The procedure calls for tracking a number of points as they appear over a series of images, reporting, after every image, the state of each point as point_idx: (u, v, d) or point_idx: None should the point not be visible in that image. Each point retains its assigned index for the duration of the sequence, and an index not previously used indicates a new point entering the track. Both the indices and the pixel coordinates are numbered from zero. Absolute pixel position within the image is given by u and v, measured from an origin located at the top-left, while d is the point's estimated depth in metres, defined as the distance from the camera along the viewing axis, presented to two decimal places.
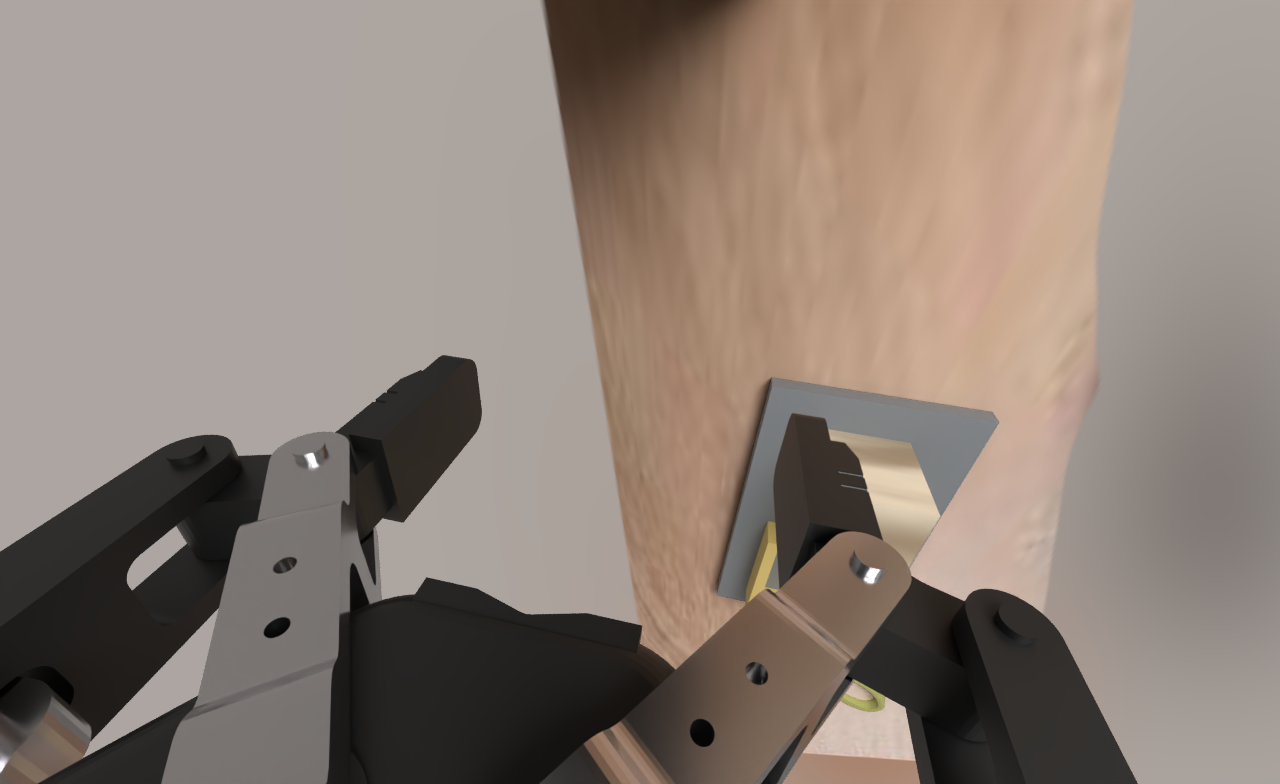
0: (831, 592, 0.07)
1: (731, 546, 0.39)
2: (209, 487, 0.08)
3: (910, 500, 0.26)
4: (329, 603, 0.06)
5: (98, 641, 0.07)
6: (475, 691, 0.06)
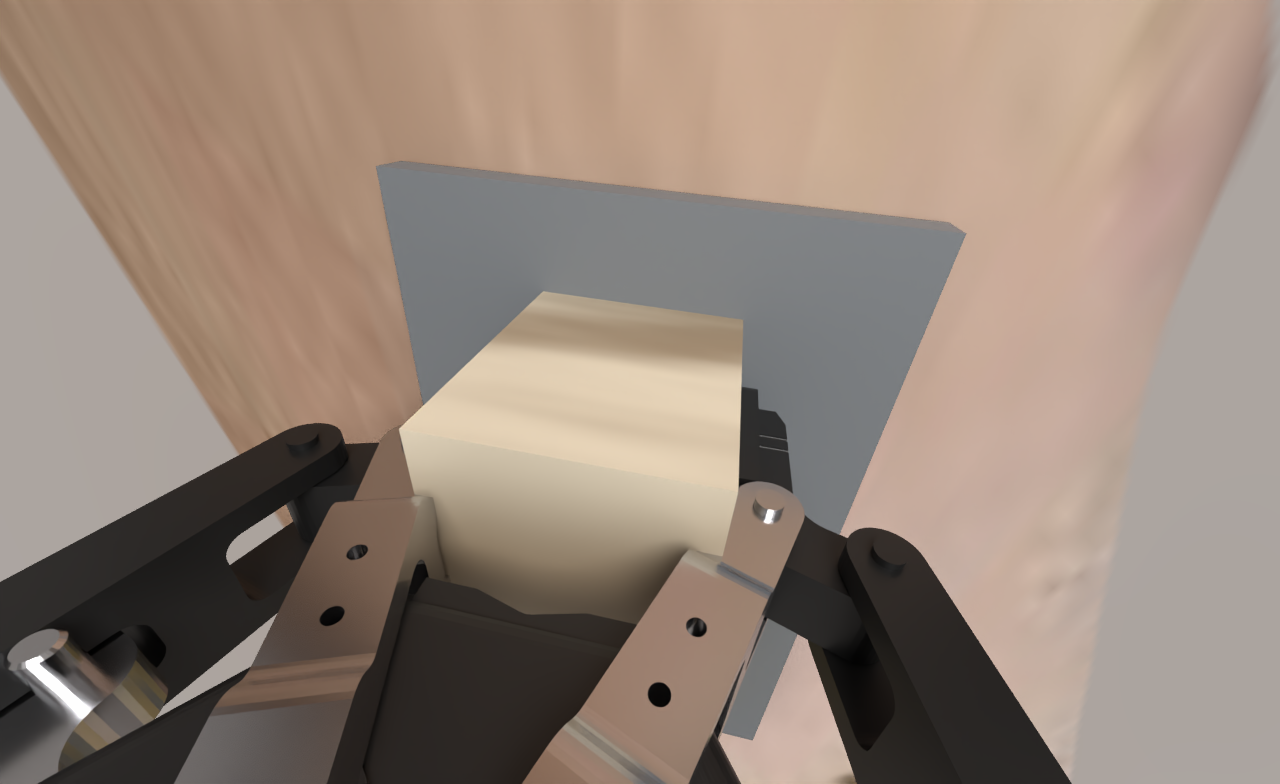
0: None
1: None
2: (325, 472, 0.09)
3: (652, 440, 0.07)
4: (381, 602, 0.06)
5: (193, 608, 0.07)
6: (475, 691, 0.06)
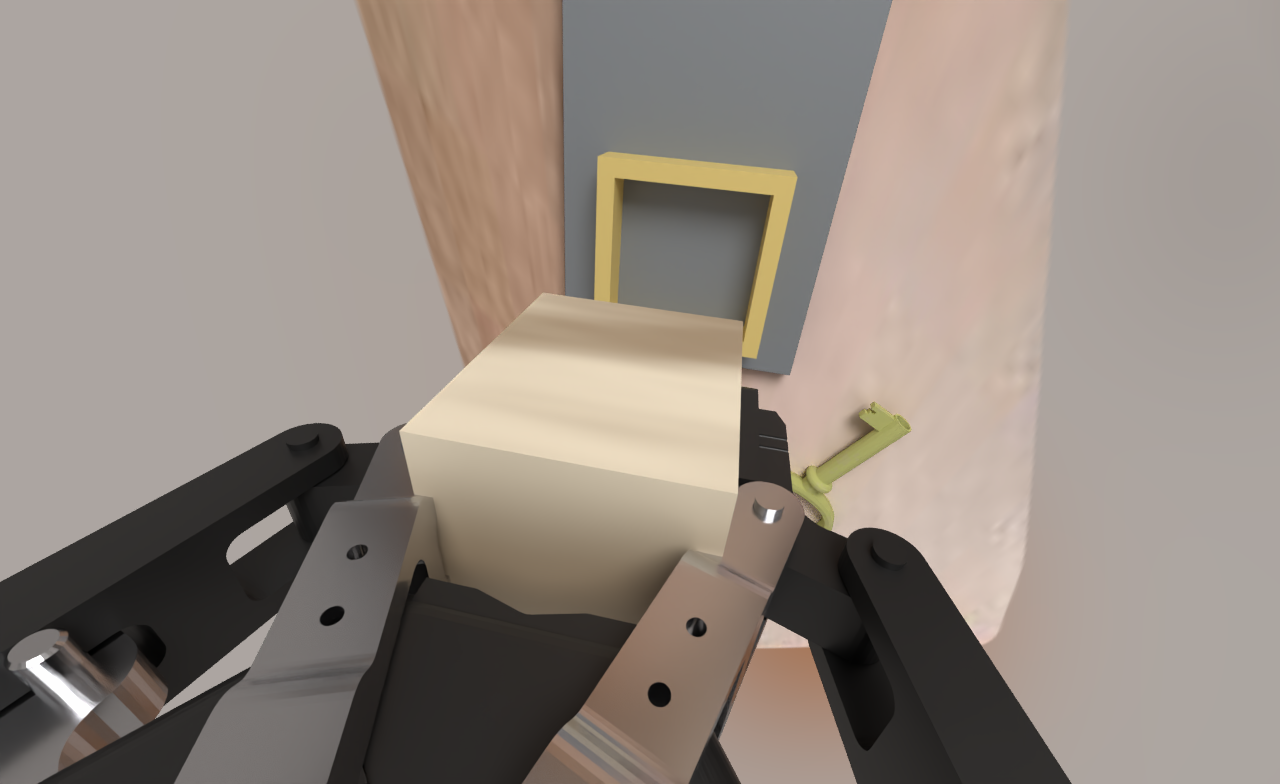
0: None
1: (567, 224, 0.25)
2: (325, 472, 0.09)
3: (651, 443, 0.07)
4: (381, 603, 0.06)
5: (193, 608, 0.07)
6: (475, 691, 0.06)
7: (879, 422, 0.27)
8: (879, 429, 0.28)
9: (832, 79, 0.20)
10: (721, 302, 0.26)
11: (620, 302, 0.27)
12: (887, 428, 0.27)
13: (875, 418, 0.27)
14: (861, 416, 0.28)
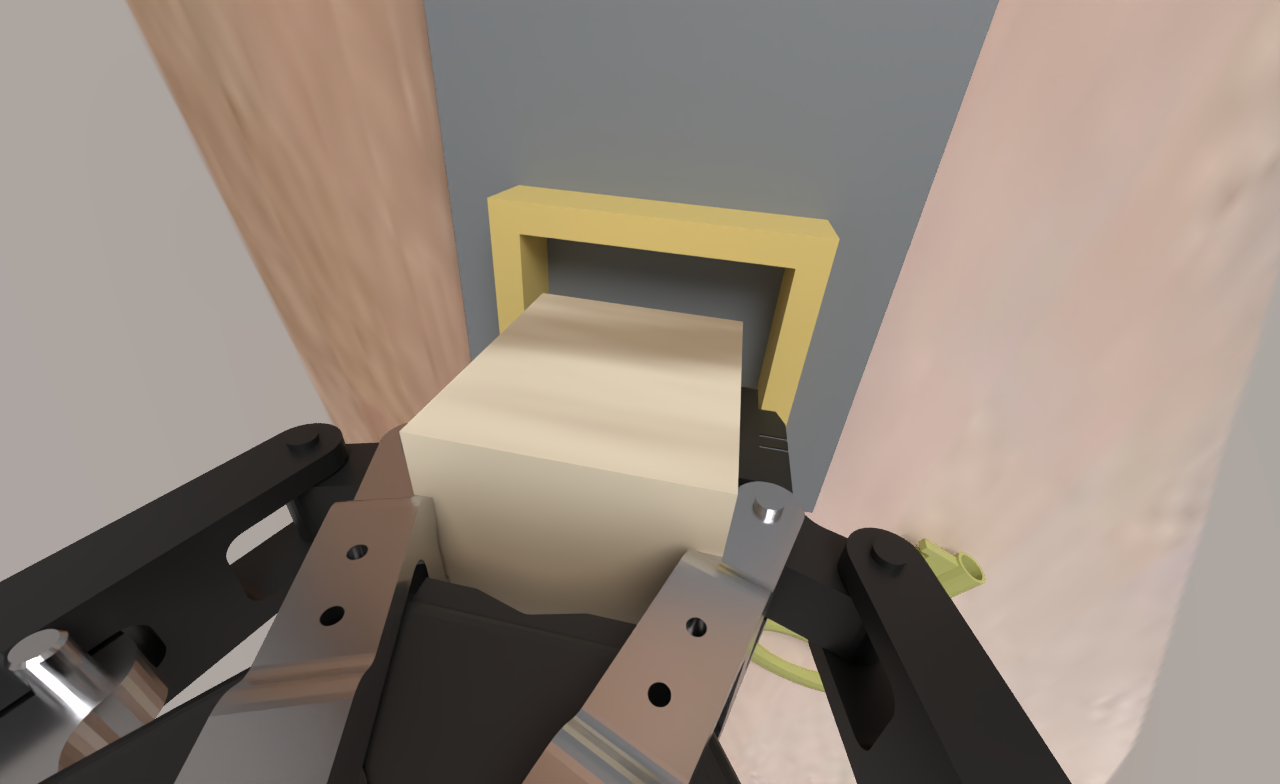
0: None
1: (466, 295, 0.16)
2: (325, 472, 0.09)
3: (651, 443, 0.07)
4: (382, 602, 0.06)
5: (193, 608, 0.07)
6: (475, 691, 0.06)
7: (934, 567, 0.18)
8: None
9: (905, 61, 0.11)
10: None
11: None
12: (947, 577, 0.18)
13: (928, 562, 0.18)
14: None
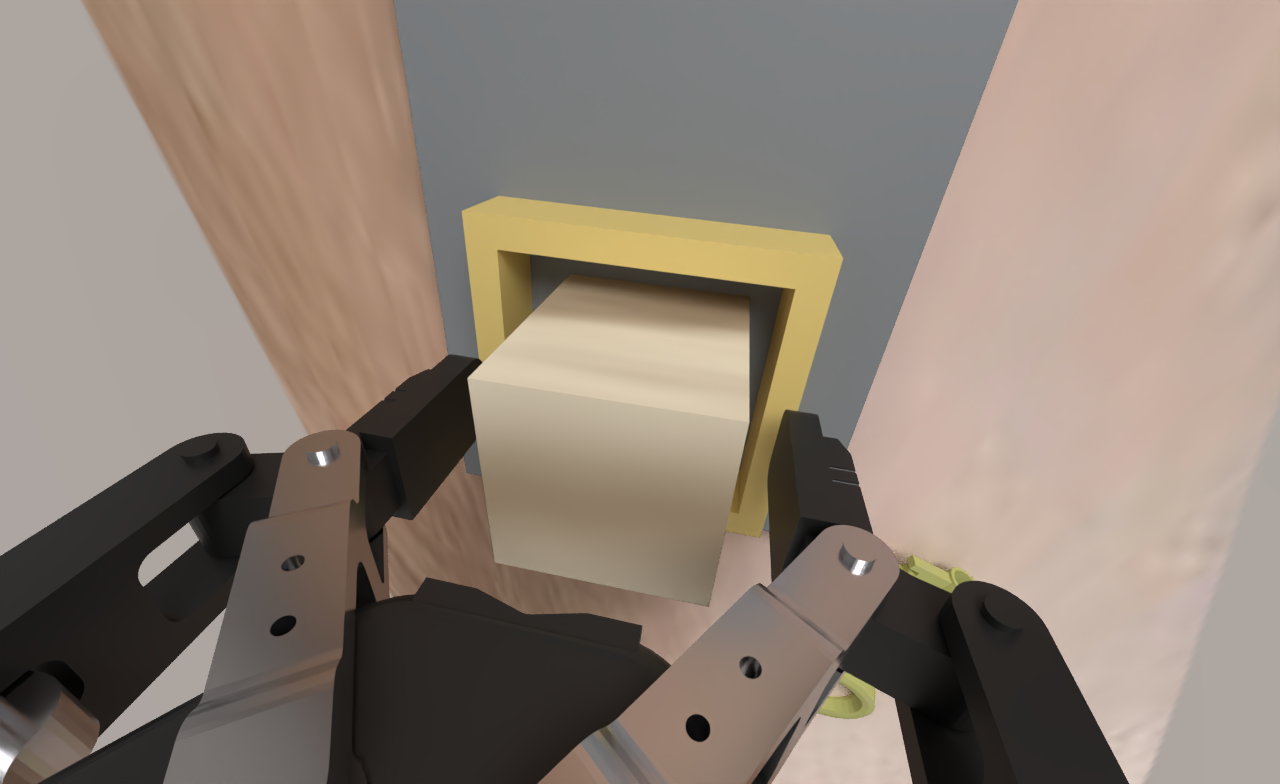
0: (820, 584, 0.07)
1: (446, 310, 0.15)
2: (222, 484, 0.08)
3: (676, 387, 0.09)
4: (335, 602, 0.06)
5: (109, 637, 0.07)
6: (475, 691, 0.06)
7: None
8: None
9: (915, 64, 0.10)
10: None
11: None
12: None
13: None
14: None
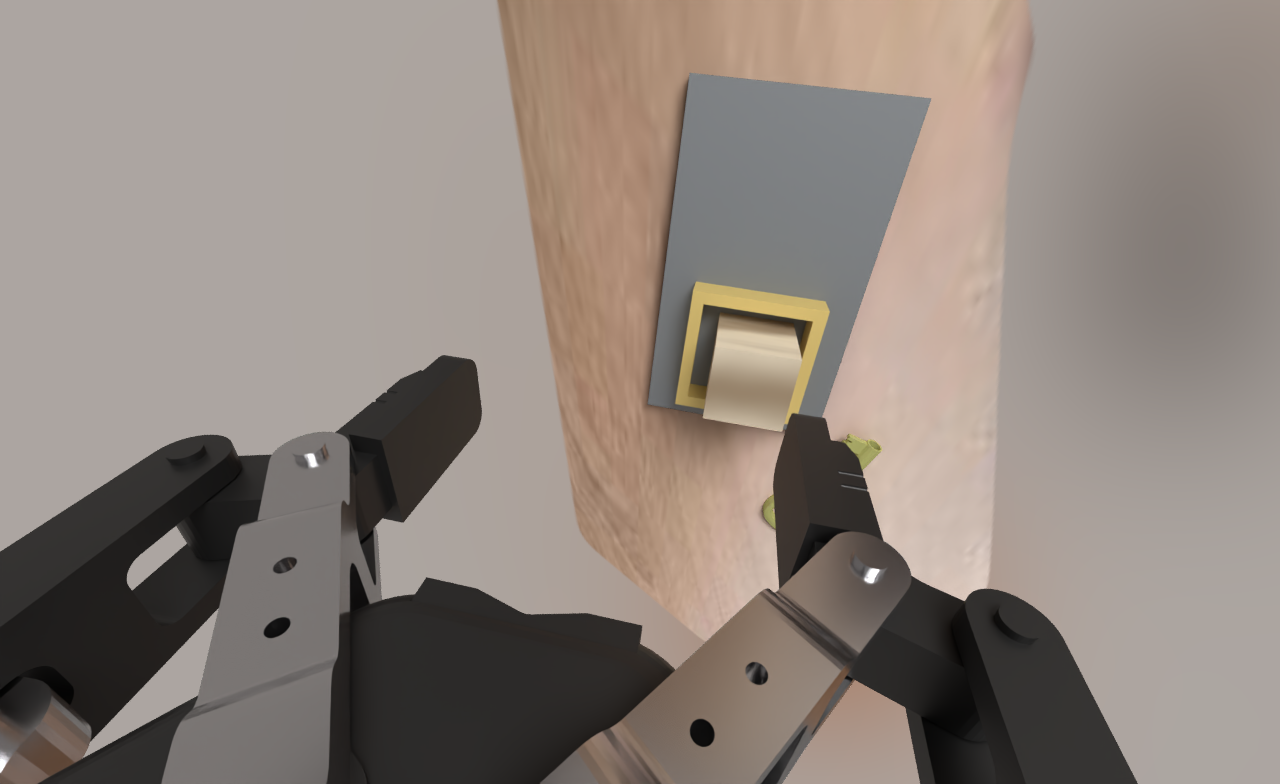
0: (831, 592, 0.07)
1: (660, 325, 0.35)
2: (209, 487, 0.08)
3: (778, 351, 0.29)
4: (329, 603, 0.06)
5: (98, 641, 0.07)
6: (475, 691, 0.06)
7: (856, 448, 0.37)
8: (858, 453, 0.37)
9: (853, 249, 0.30)
10: None
11: (693, 379, 0.37)
12: (863, 451, 0.36)
13: (853, 445, 0.37)
14: None
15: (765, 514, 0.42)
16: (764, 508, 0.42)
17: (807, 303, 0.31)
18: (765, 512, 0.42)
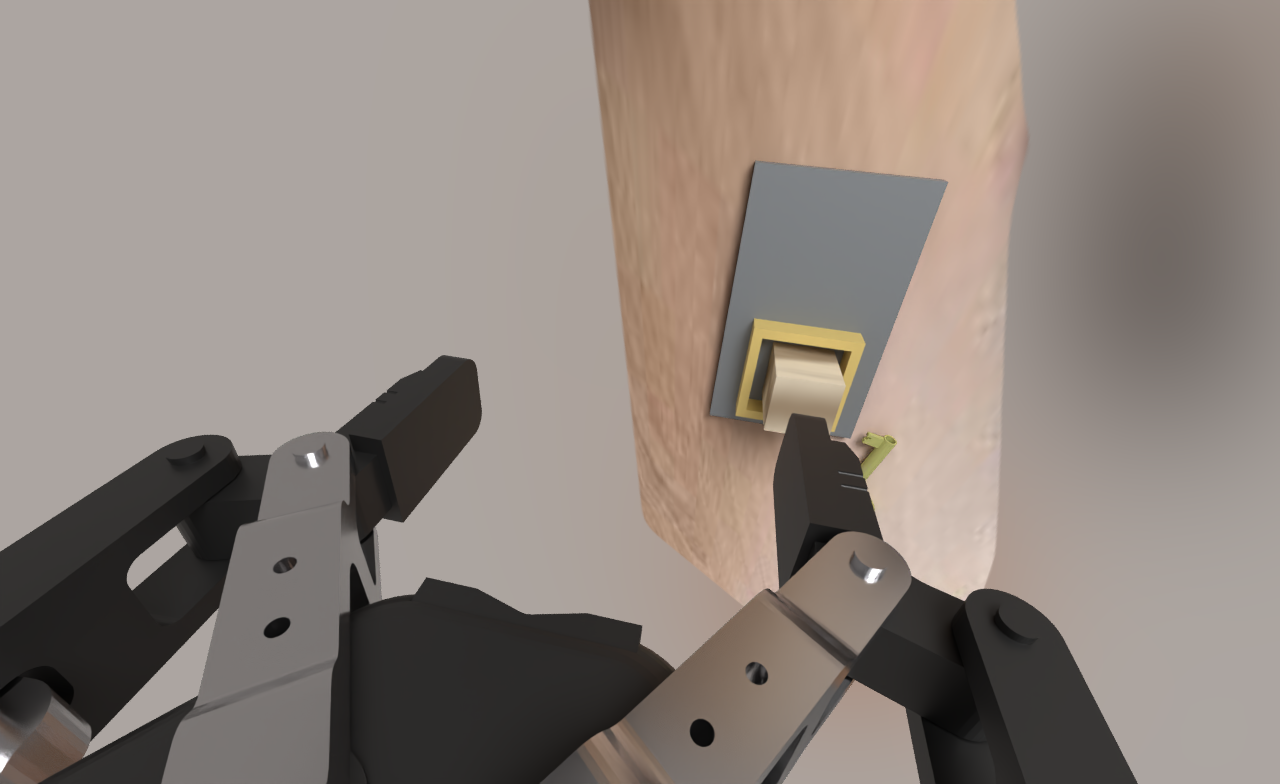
0: (831, 592, 0.07)
1: (722, 352, 0.43)
2: (209, 487, 0.08)
3: (825, 378, 0.37)
4: (329, 603, 0.06)
5: (98, 641, 0.07)
6: (475, 691, 0.06)
7: (875, 443, 0.44)
8: (877, 447, 0.45)
9: (885, 293, 0.38)
10: None
11: (748, 395, 0.45)
12: (881, 445, 0.44)
13: (872, 441, 0.44)
14: (863, 442, 0.45)
15: None
16: None
17: (846, 336, 0.39)
18: None
